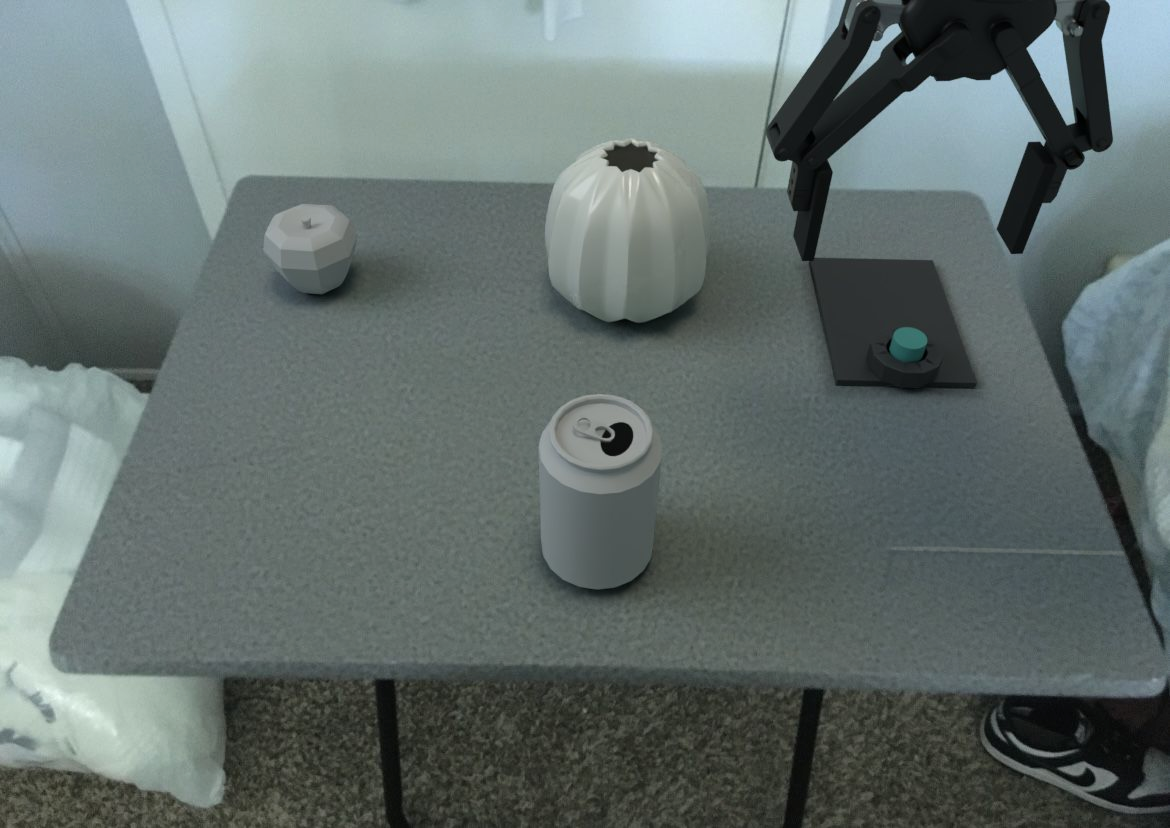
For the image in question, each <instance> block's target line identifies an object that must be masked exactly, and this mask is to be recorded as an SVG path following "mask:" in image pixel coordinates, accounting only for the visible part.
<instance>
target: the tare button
mask: <svg viewBox="0 0 1170 828" xmlns="http://www.w3.org/2000/svg"><path fill="white" fill-rule="evenodd" d="M926 345H927V337H926V335H925V334H924V333H923V332H921V331H920V330H918V329H915V328H911V327H903V328H899V329H897V330H896V331H895V332H894V335H893V338H892V341H891V345H890V348H889V351H890V354H891V355H892V356H893V357H894V358H895V359H897V360H900V361H902V362H905V363H915V362H918V361H920V360H921V359H922V357H923V354H924V351H925V348H926Z"/></svg>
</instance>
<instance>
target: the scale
mask: <svg viewBox="0 0 1170 828" xmlns="http://www.w3.org/2000/svg"><path fill="white" fill-rule="evenodd" d="M808 263H809V264H808V265H809V269H810V274H811V277H812V283H813V287H814V288H813V289H814V292H815V295H816V300H817V305H818V309H819V314H820V315H819V316H820V319H821V323H822V328H823V332H824V337H825V341H826V346H827V350H828V354H829V359H830V365H831V368H832V373H833V377H834V382H835V385H836V386H864V387H865V386H870V387H899V388H909V389H910V388H912V389H913V388H914V389H915V388H916V389H917V388H956V389H957V388H958V389H959V388H960V389H961V388H962V389H963V388H964V389H965V388H966V389H976V387H977V385H978V381H977V378H976V375H975V373H974V370H973V367H972V364H971V362H970V359H969V356H968V354H967V351H966V348H965V346H964V343H963V339H962V336H961V335H960V331H959V328H958V326H957V323H956V321H955V317H954V315H953V313H952V310H951V307H950V303H949V301H948V299H947V295H946V293H945V289H944V288H943V284H942V282H941V279H940V276H939V274H938V270H937V268H936V265H935V262H934V260H933V259H899V258H898V259H897V258H896V259H895V258H894V259H893V258H851V257H850V258H849V257H815V258H814V261H808ZM903 327H911V328H915V329H918V330H920V331H921V332H923V333H924V334H925V335H926V337H927V345H926V348H925V351H924V354H923V357H922V359H921V360H920V361H918V362H915V363H905V362H902V361H900V360H897V359H895V358H894V357H893V356H892V355H891V354H890V351H889V348H890V345H891V341H892V338H893V335H894V332H895V331H896V330H897V329H899V328H903Z"/></svg>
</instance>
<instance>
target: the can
mask: <svg viewBox="0 0 1170 828" xmlns="http://www.w3.org/2000/svg"><path fill="white" fill-rule="evenodd" d="M663 449H664V448H663V444H662V440H661V436H660V434H659V432H658V430H657V429H656V428H655V427H654V425H653V423H652V420H651V418H650V417H649V415H648V414H647V413H646V411H645V410H644V409H643V408H642V407H641V406H639V405H637V404H636V403H635V402H633V401H632V400H630V399H627V398H624V397H622V396H619V395H612V394H605V393H597V394H587V395H586V394H585V395H582V396H580V397H576V398H573V399H571V400H569V401H567V402H566V403H565V404H563V405H562V406H560V407H559V408H558V409H557V410H556V412H554V414H553V415H552V417H551V420H550V421H549V423H548V424H547V425H546V427H545V428H544V429H543V431H542V432H541V435H540V439H539V443H538V471H539V472H538V474H539V476H538V478H539V510H540V511H539V512H540V517H539V518H540V543H541V550H542V551H541V552H542V557H543V558H544V560H545V562H546V564H547V566H548V567H549V569H550V570H551V571H553V572H554V573H555V575H557V576H558V577H559V578H560V579H562V580H563V581H564V582H567V583H570V584H572V585H573V586H574V585H575V586H576V587H579V588H583V589H584V588H585V589H592V590H605V589H614V588H618V587H620V586H622V585H625V584H628V583H629V582H631V581H633V580H635V578H637V577H638V576H639V575H640V574H641V573H642V572H644V571H645V569H646V567H647V566H648V564H649V562H650V561H651V559H652V557H653V556H652V555H653V550H654V549H653V548H654V541H655V532H656V531H655V530H656V521H657V510H658V501H659V489H660V480H661V471H662V461H663V459H662V458H663Z"/></svg>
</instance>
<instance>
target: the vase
mask: <svg viewBox="0 0 1170 828" xmlns="http://www.w3.org/2000/svg"><path fill="white" fill-rule="evenodd" d="M572 162H573V163H571V164H570V165H568V167H566V168H565V169H564V170H562V172H560V173H559V175H558V177H557V178H556V181H555V182H554V184H553V187H552V189H551V194H550V197H549V202H548V206H547V211H546V215H545V216H546V217H545V226H544V246H545V252H546V256H547V261H548V264H547V265H548V276H549V280H550V281H549V282H550V285H551V286H552V287H553V288H554V289H555V290H556V291H557V292H558V293H559V294H560V295H561V296H562V297H563V298H565V299H566V301H568V302H569V303H570V304H571V305H572V306H574V307H575V308H576V309H577V310H579V311H584V312H586V313H588V314H590V315H591V316H593V317H594V318H597V319H598V320H601V321H603V322H606V323H612V322H617V321H621V320H625V319H626V320H628V321H631V322H634V323H637V324H643V323H646V322H649V321H652V320H654V319H656V318H659V317H662V316H664V315H666V314H671V313H672V312H673V311H675V310H676V309H678V308H679V307H681V306H682V305H684V304H685V303H686V302H687V301H688V300H690V299H691V298H693V297H694V296H695V295H697V294H698V293H699V292H701V290H702V287H703V285H704V284H703V283H704V281H705V277H706V268H707V259H708V255H709V252H710V247H711V239H712V232H711V230H712V228H711V213H710V204H709V199H708V198H709V197H708V195H707V189H706V188H705V186H704V183H703V181H702V178H701V177H700V176H699V175H698V174H697V173H696V172H695V171H693V170H692V169H691V167H689V166H688V164H687V162H686V160H685V159H684V157H682V156H680V155H679V154H677V153H675V152H674V151H672V150H671V149H669V148H667V147H665V146H663V145H662V144H661V145H660V144H658V143H655V142H653V141H650V140H641V139H638V138H636V137H626V138H623V139H620V140H618V139H611V140H608V141H605V142H602V143H599V144H597V145H594V146H592V147H590V148H588V149H587V150H585V151H583V152H580V153H579V154H578V155H577V156H576V157H575V158H574V161H572Z"/></svg>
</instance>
